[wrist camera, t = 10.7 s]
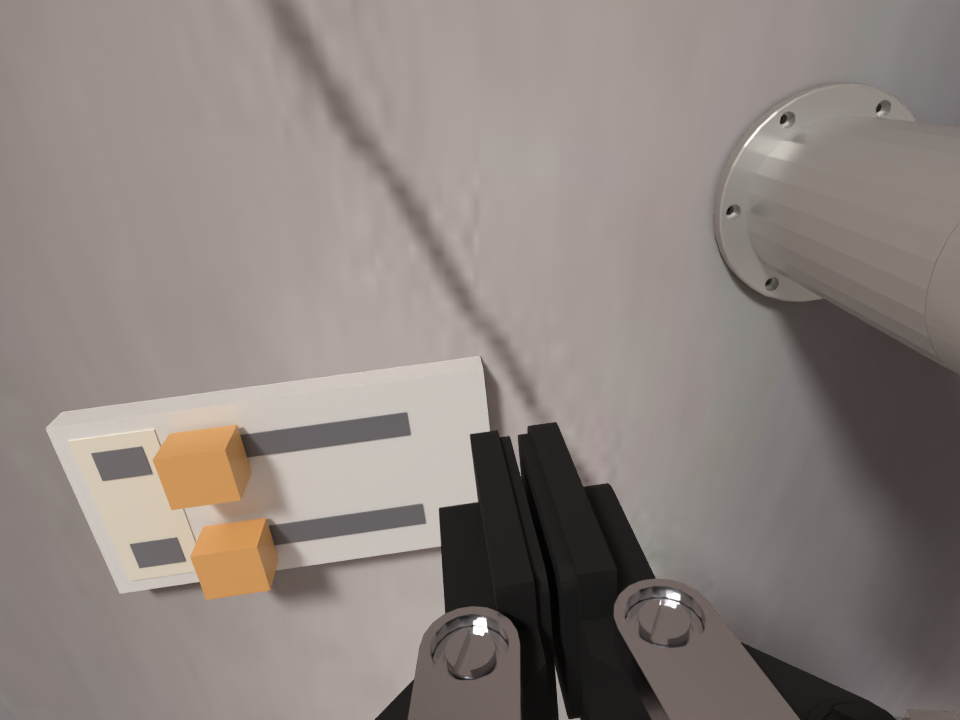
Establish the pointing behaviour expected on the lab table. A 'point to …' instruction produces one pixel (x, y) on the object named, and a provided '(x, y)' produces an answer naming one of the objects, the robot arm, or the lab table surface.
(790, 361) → the lab table surface
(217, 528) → the switch tab
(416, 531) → the switch panel
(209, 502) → the switch tab
